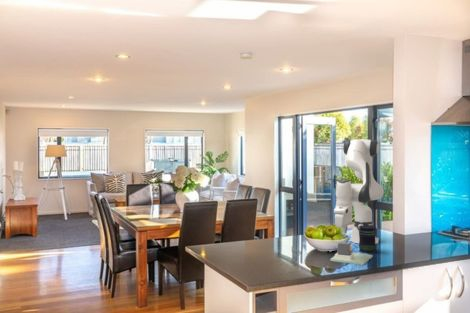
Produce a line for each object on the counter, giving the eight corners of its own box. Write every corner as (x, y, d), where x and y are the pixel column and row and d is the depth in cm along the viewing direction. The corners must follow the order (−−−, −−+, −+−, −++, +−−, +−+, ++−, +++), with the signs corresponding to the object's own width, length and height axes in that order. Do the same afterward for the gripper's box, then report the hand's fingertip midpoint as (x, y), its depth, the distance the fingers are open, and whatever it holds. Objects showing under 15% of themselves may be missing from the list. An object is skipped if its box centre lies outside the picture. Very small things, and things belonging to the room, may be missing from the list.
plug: (340, 256, 247) (340, 242, 247) (351, 257, 244) (351, 243, 244) (338, 257, 244) (337, 243, 244) (349, 259, 240) (349, 244, 240)
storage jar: (376, 253, 258) (376, 228, 258) (359, 253, 260) (359, 227, 260) (375, 250, 268) (374, 225, 268) (358, 249, 270) (358, 225, 270)
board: (341, 253, 259) (341, 246, 259) (372, 257, 250) (372, 249, 250) (330, 260, 242) (330, 253, 242) (363, 264, 233) (363, 256, 233)
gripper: (343, 206, 254) (344, 230, 254) (332, 210, 237) (332, 236, 237) (354, 207, 251) (354, 231, 251) (344, 211, 233) (344, 237, 233)
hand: (344, 233), depth 244 cm, fingers closed
